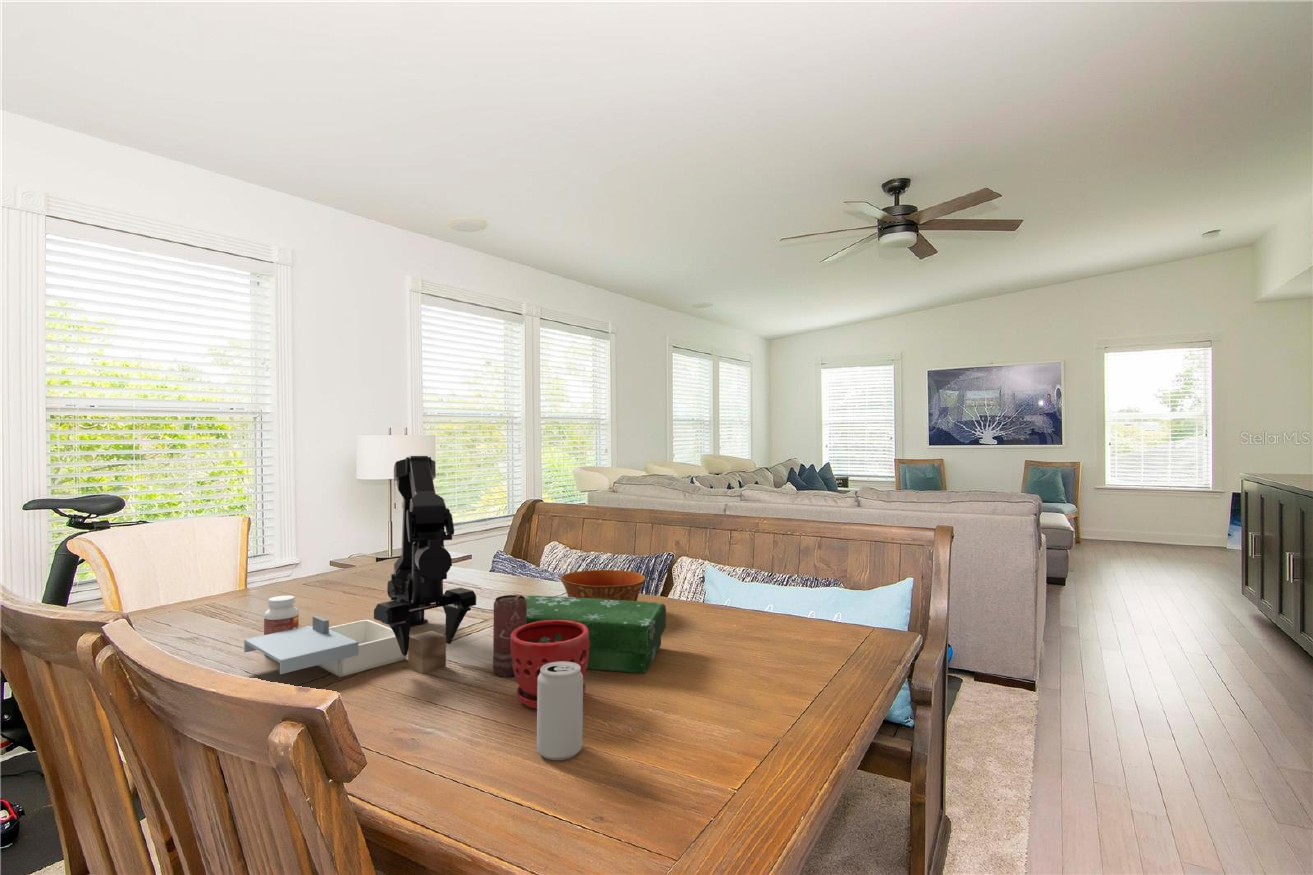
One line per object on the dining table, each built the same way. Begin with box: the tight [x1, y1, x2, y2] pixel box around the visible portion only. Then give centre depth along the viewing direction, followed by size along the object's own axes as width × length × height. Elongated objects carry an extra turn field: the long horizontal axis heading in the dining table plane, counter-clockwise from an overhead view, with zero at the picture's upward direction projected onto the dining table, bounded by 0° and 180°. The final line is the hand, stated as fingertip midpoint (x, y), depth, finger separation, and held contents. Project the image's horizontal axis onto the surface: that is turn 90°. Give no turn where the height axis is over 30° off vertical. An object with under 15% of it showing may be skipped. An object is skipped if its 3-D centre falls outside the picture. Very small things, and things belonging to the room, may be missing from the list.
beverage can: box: [536, 661, 584, 761], centre depth 93 cm, size 6×6×12 cm
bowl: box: [560, 569, 647, 601], centre depth 163 cm, size 21×21×10 cm
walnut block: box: [407, 630, 447, 674], centre depth 127 cm, size 5×5×6 cm
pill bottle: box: [263, 595, 300, 635], centre depth 135 cm, size 6×6×11 cm
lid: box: [243, 615, 358, 675], centre depth 123 cm, size 13×17×5 cm
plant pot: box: [510, 620, 589, 710], centre depth 111 cm, size 13×13×12 cm
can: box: [492, 594, 527, 678], centre depth 124 cm, size 6×6×14 cm
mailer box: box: [317, 618, 407, 678], centre depth 131 cm, size 13×16×5 cm
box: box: [525, 595, 667, 674], centre depth 134 cm, size 32×18×10 cm, turn 79°
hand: (427, 649), depth 127 cm, fingers open, 9 cm apart
